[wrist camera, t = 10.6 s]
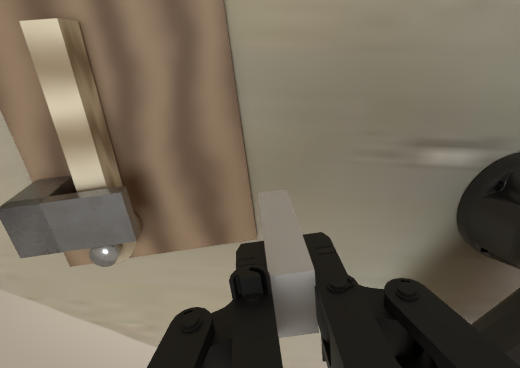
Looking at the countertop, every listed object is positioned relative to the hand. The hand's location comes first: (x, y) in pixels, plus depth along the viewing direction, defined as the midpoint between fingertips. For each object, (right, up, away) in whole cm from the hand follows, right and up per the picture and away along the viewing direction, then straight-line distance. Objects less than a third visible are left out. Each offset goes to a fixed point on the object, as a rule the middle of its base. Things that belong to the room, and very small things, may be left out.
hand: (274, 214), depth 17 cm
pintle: (-17, -5, +18) cm, 26 cm away
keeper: (-20, 0, +21) cm, 29 cm away
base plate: (-15, +7, +20) cm, 25 cm away
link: (-18, +5, +18) cm, 26 cm away
